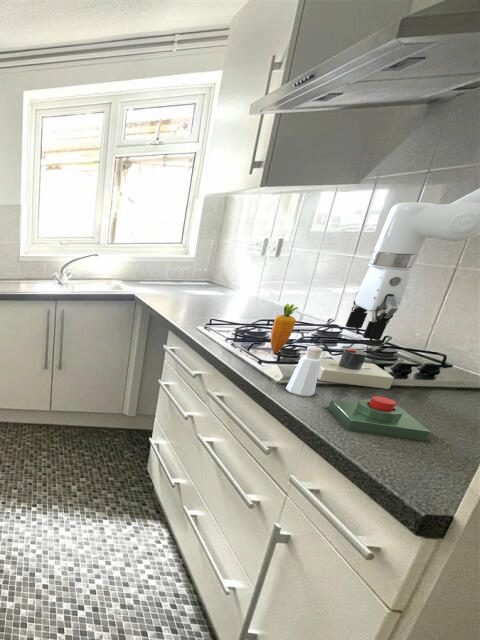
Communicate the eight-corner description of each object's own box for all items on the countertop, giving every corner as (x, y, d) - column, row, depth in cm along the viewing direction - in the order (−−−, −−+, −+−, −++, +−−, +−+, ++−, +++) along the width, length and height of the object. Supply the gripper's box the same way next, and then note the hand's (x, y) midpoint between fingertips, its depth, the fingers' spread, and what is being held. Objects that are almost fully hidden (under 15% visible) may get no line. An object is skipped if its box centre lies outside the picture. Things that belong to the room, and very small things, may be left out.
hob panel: (369, 374, 109) (374, 363, 107) (389, 389, 100) (394, 377, 99) (305, 367, 113) (309, 356, 112) (319, 380, 105) (323, 369, 103)
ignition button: (387, 405, 84) (390, 397, 83) (396, 413, 81) (400, 405, 80) (364, 402, 85) (368, 395, 84) (373, 410, 82) (376, 402, 81)
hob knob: (356, 364, 107) (363, 348, 105) (364, 370, 103) (371, 354, 101) (335, 362, 108) (341, 346, 106) (342, 368, 104) (349, 352, 103)
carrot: (266, 349, 127) (282, 300, 121) (286, 353, 123) (303, 303, 117) (262, 353, 123) (278, 303, 117) (282, 357, 120) (299, 306, 114)
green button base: (397, 418, 87) (405, 400, 85) (425, 441, 78) (435, 423, 77) (327, 408, 91) (334, 391, 89) (347, 429, 82) (354, 411, 80)
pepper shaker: (299, 386, 101) (314, 343, 97) (319, 395, 96) (337, 351, 92) (279, 387, 100) (294, 344, 96) (299, 397, 96) (316, 352, 91)
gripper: (436, 267, 87) (399, 345, 94) (393, 257, 101) (364, 325, 108) (390, 265, 89) (358, 341, 96) (355, 255, 104) (329, 322, 111)
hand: (361, 332), depth 102 cm, fingers open, 9 cm apart
